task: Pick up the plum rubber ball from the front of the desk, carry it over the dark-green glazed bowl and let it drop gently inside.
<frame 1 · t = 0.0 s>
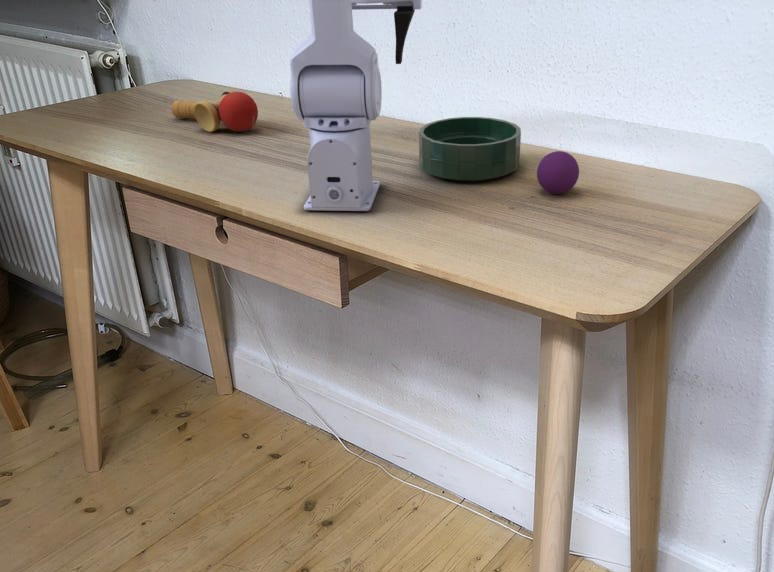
hand: (373, 63, 112), 10 cm above the table, tool pointing down, fingers open, 7 cm apart
kendama: (215, 127, 123), on the table
bowl: (469, 167, 102), on the table
ball: (557, 172, 91), point 2 cm above the table
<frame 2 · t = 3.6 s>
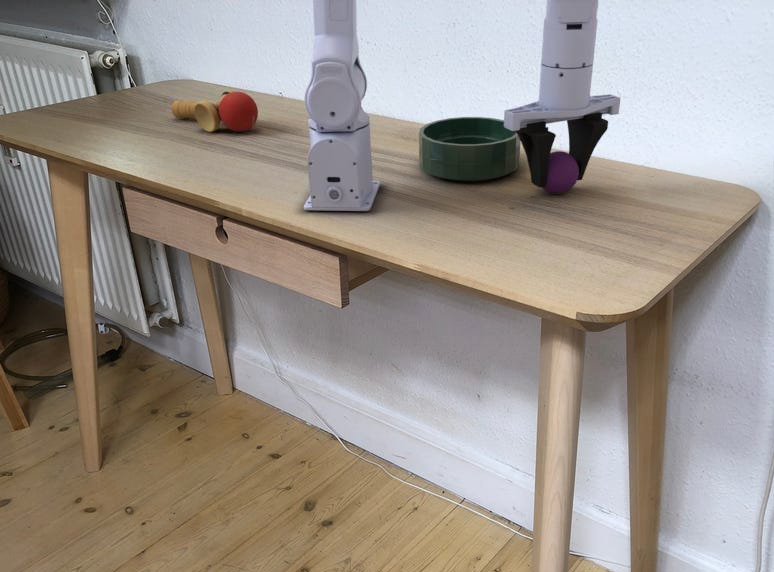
hand: (557, 181, 92), 1 cm above the table, tool pointing down, fingers closed on ball, 5 cm apart
ball: (557, 172, 91), point 2 cm above the table, touching gripper
everything else where it was.
when the fingers open (2 cm above the table, at t = 8.3 s): ball stays where it is, resting on bowl.
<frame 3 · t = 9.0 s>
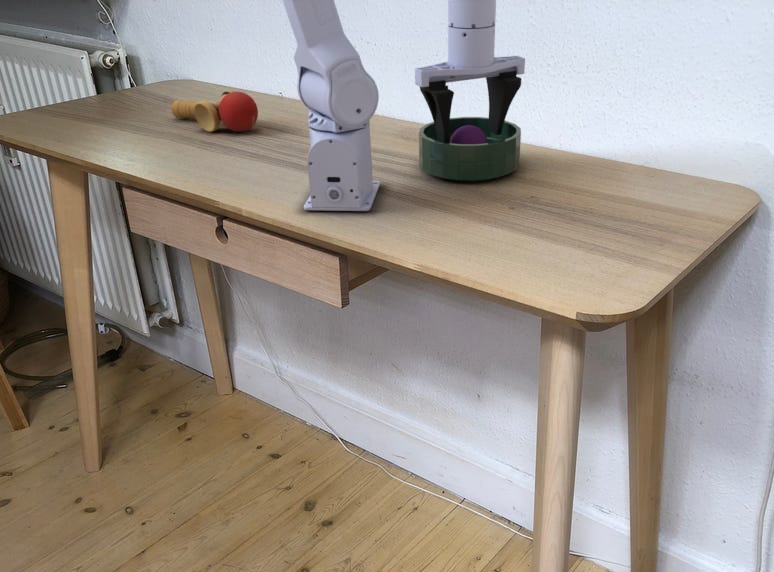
hand: (469, 137, 99), 4 cm above the table, tool pointing down, fingers open, 7 cm apart
ball: (468, 145, 100), point 3 cm above the table, touching bowl
everything else where it was.
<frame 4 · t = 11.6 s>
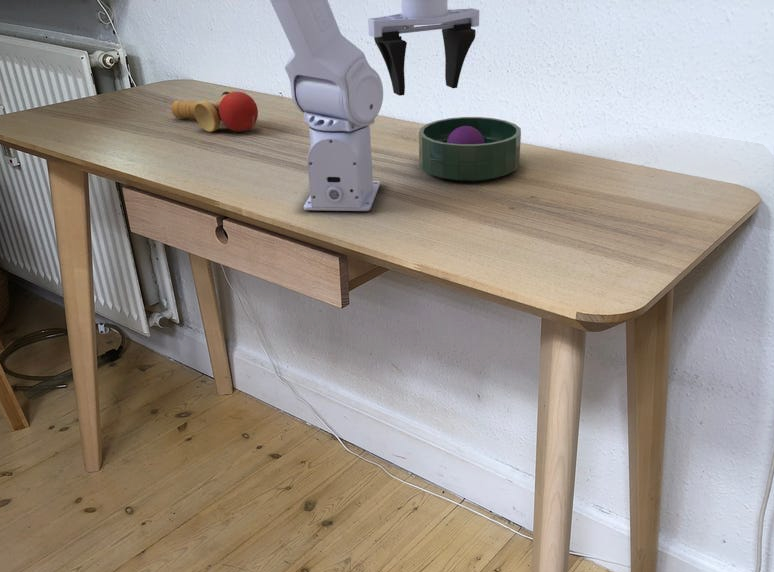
hand: (425, 90, 100), 9 cm above the table, tool pointing down, fingers open, 7 cm apart
ball: (465, 145, 100), point 3 cm above the table, tilted 14°, touching bowl
everything else where it was.
at the end: ball inside the target area in the bowl (0.6 cm from its centre), point 3.1 cm above the bowl's base; the gripper is holding nothing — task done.
